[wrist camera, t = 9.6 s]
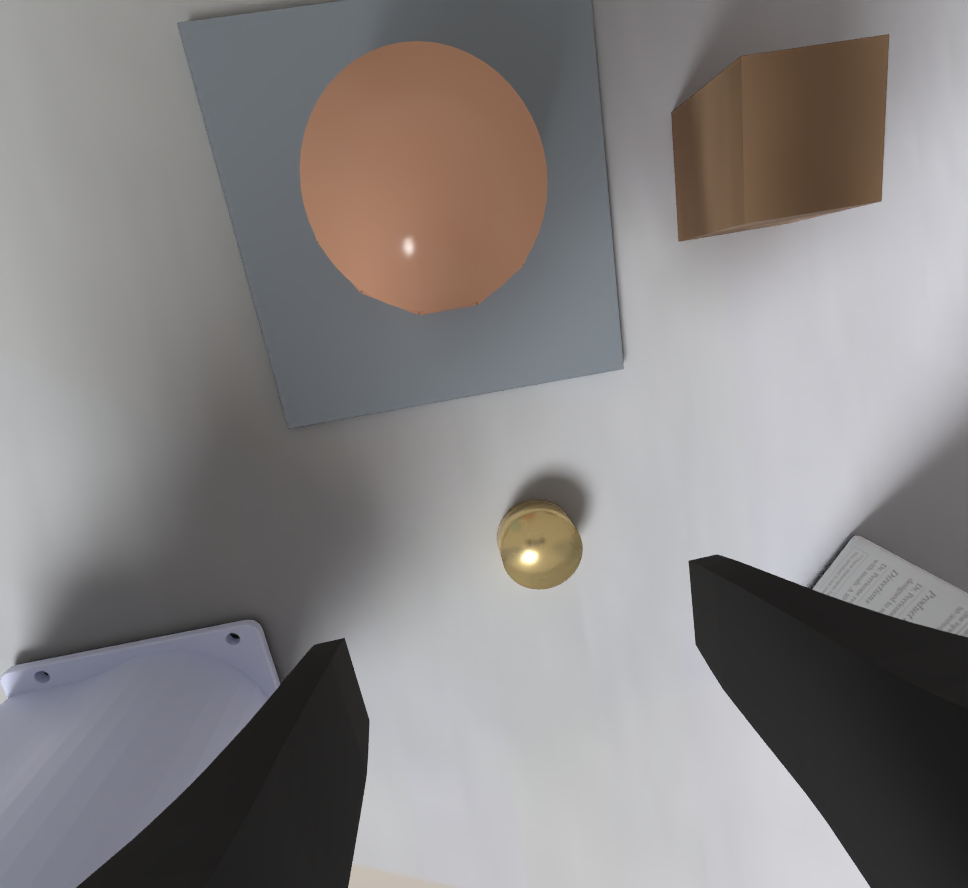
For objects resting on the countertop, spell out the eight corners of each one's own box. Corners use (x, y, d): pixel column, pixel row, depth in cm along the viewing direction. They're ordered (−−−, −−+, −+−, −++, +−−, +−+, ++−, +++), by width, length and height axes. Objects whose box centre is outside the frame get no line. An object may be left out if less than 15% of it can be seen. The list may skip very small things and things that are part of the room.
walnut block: (677, 241, 18) (744, 223, 14) (670, 113, 17) (741, 55, 13) (786, 223, 18) (881, 201, 14) (785, 96, 17) (888, 34, 13)
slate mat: (291, 426, 18) (288, 428, 18) (183, 30, 15) (177, 22, 14) (619, 367, 19) (623, 368, 18) (584, -25, 16) (588, -33, 15)
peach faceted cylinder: (361, 324, 17) (333, 330, 12) (319, 137, 16) (269, 61, 11) (525, 295, 17) (561, 290, 13) (499, 110, 16) (529, 23, 11)
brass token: (503, 575, 21) (509, 596, 19) (490, 507, 20) (495, 524, 18) (575, 559, 21) (587, 579, 19) (565, 491, 20) (576, 507, 18)
